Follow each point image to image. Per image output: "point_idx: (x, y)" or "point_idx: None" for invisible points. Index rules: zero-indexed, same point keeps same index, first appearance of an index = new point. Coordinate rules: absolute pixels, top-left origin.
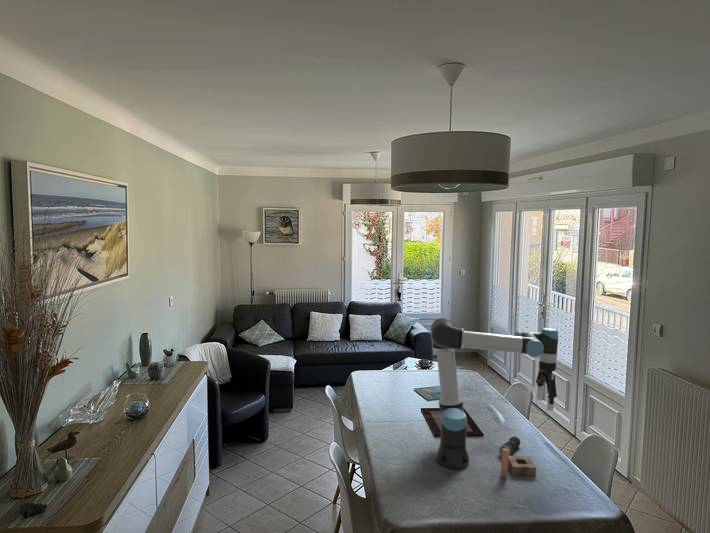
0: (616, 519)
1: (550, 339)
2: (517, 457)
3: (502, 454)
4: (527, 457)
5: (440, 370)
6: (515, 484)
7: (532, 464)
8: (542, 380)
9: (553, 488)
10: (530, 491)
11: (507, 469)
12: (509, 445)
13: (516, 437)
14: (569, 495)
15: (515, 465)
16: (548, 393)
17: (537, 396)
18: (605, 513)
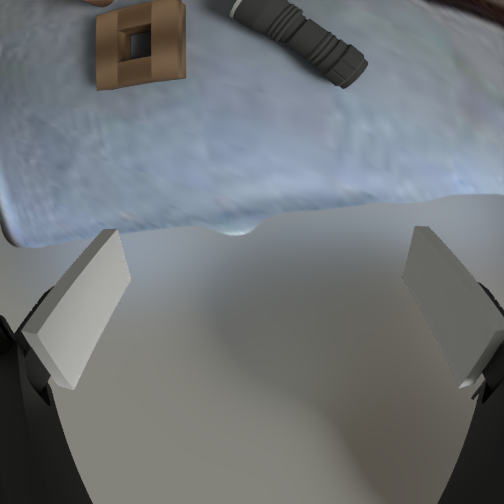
0: (6, 237)
1: None
2: (164, 31)
3: None
4: (169, 69)
5: None
6: (66, 31)
7: (117, 80)
8: (464, 492)
9: (61, 132)
10: (41, 70)
11: (86, 1)
12: (258, 13)
13: (348, 70)
14: (43, 168)
15: (104, 22)
16: (13, 370)
17: (429, 245)
18: (13, 224)
